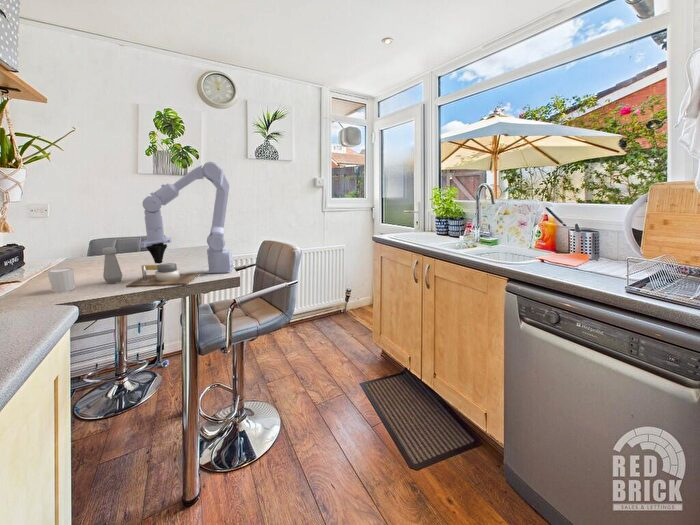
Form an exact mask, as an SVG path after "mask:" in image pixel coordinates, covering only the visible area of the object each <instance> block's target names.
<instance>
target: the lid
mask: <svg viewBox="0 0 700 525" xmlns="http://www.w3.org/2000/svg"><path fill="white" fill-rule="evenodd" d="M177 265H178V264H177V263H173V262H171V263H170V262H167V263H160V264H143V265H141V266H145V268H146V271H158V272H171V271H175V270H177V269H178V267H177Z"/></svg>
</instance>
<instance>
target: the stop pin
mask: <svg viewBox="0 0 700 525" xmlns="http://www.w3.org/2000/svg"><path fill="white" fill-rule="evenodd" d="M141 274H142V277H143V280H142V281H141V283H147V282H150V280H147V276H146V275H147V270H146V268H145V266H142V265H141Z"/></svg>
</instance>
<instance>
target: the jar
mask: <svg viewBox="0 0 700 525" xmlns="http://www.w3.org/2000/svg"><path fill="white" fill-rule="evenodd" d="M180 274H181V272H180V269H179V268H177V270H175V271H171V272H158V270H155V272H154V275H156V281H172V280H177V279H179V278H180Z"/></svg>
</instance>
